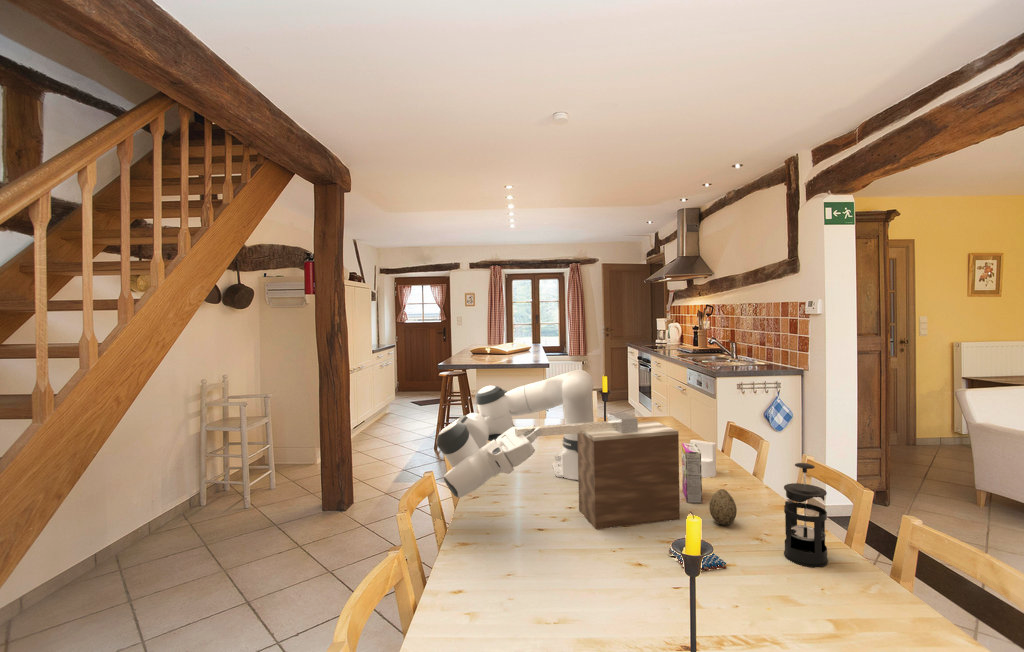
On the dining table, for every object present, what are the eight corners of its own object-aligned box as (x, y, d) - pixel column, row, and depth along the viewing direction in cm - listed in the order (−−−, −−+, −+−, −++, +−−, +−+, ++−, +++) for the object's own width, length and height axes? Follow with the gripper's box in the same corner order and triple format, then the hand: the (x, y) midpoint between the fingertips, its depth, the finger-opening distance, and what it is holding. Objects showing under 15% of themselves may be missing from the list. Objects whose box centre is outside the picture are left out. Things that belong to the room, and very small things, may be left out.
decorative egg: (739, 530, 139) (739, 494, 139) (712, 528, 140) (712, 493, 140) (733, 519, 146) (732, 485, 146) (707, 518, 147) (706, 484, 147)
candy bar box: (681, 491, 170) (680, 442, 170) (697, 491, 169) (696, 443, 169) (686, 503, 159) (685, 451, 159) (702, 504, 158) (701, 452, 158)
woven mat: (703, 550, 129) (703, 542, 129) (729, 571, 118) (729, 562, 118) (666, 555, 127) (665, 547, 127) (688, 576, 116) (688, 567, 116)
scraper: (512, 433, 148) (512, 419, 148) (623, 424, 156) (622, 412, 156) (519, 441, 139) (519, 426, 139) (637, 432, 146) (637, 418, 146)
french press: (840, 567, 118) (839, 469, 117) (802, 570, 117) (801, 472, 116) (805, 544, 129) (804, 455, 129) (771, 547, 128) (770, 457, 128)
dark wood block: (579, 510, 155) (577, 426, 155) (656, 502, 161) (655, 421, 160) (595, 529, 142) (593, 437, 141) (679, 519, 147) (678, 430, 146)
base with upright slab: (720, 473, 187) (719, 441, 187) (710, 479, 181) (710, 446, 181) (696, 468, 194) (695, 437, 193) (686, 474, 187) (685, 442, 187)
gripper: (496, 455, 153) (534, 429, 155) (510, 475, 133) (553, 446, 135) (486, 437, 152) (524, 412, 155) (498, 456, 132) (541, 426, 135)
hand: (538, 428), depth 145 cm, fingers open, 3 cm apart
